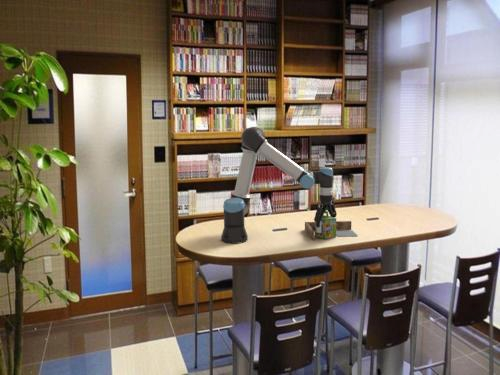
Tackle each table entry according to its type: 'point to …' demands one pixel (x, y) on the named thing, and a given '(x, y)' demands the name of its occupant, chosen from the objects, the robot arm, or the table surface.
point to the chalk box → (326, 227)
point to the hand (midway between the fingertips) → (325, 230)
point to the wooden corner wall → (339, 226)
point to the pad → (345, 233)
